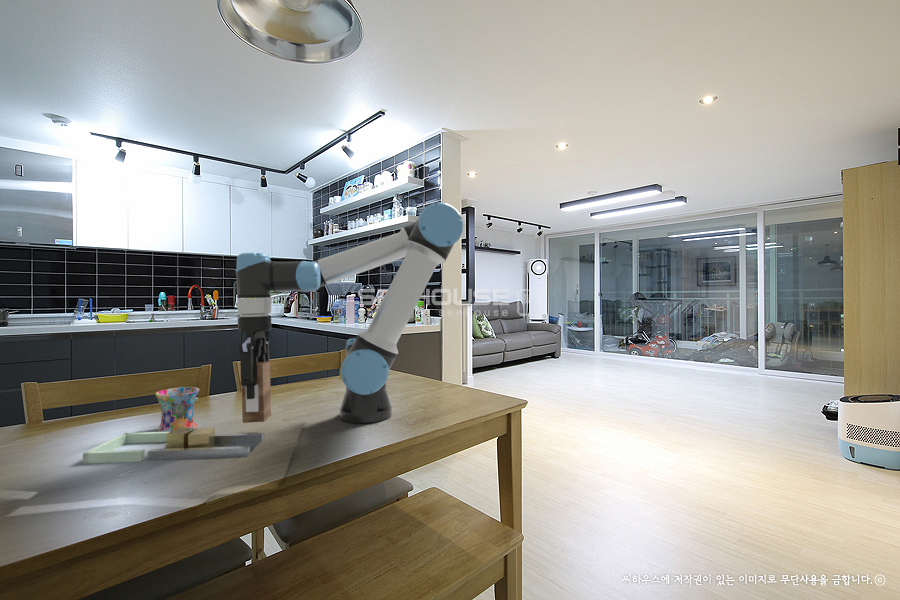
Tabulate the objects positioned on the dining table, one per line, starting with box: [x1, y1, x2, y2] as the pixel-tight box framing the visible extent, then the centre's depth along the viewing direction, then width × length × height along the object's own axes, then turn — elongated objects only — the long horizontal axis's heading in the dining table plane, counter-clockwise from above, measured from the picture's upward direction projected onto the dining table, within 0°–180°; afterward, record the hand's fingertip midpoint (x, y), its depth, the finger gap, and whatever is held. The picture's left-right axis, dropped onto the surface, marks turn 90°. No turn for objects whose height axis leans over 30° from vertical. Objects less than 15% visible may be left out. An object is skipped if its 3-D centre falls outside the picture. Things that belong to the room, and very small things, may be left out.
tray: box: [82, 431, 169, 464], centre depth 86 cm, size 11×12×3 cm
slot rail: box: [145, 432, 265, 461], centre depth 88 cm, size 20×11×2 cm, turn 96°
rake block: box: [241, 361, 272, 424], centre depth 98 cm, size 5×5×14 cm
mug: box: [154, 386, 200, 432], centre depth 102 cm, size 12×9×11 cm
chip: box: [165, 427, 198, 449], centre depth 87 cm, size 4×4×4 cm
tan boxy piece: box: [188, 427, 216, 448], centre depth 87 cm, size 4×4×4 cm
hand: (257, 407), depth 98 cm, fingers closed on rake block, 5 cm apart
